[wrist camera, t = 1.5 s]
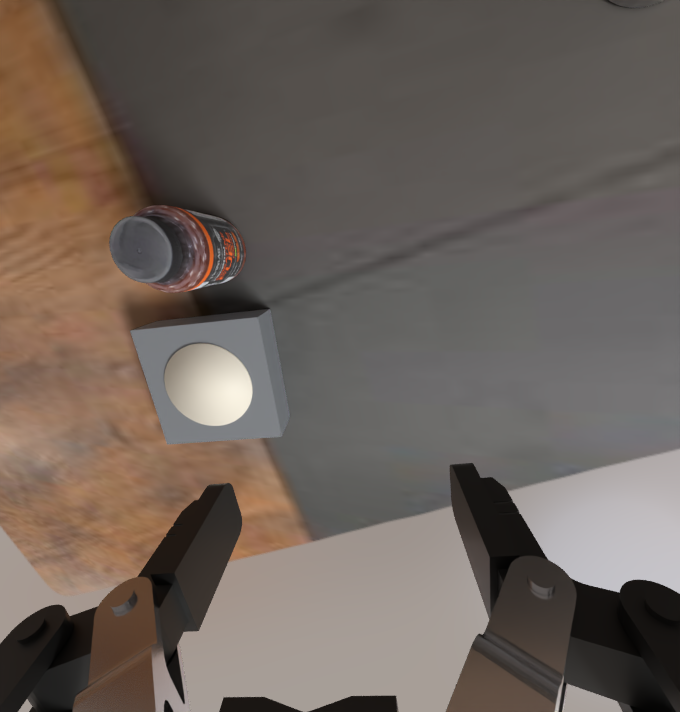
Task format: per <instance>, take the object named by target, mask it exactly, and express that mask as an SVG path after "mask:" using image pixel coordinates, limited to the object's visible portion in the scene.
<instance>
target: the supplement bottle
mask: <svg viewBox="0 0 680 712" xmlns="http://www.w3.org/2000/svg"><path fill="white" fill-rule="evenodd" d="M109 243H110V251H111V255H112V258H113V260H114V262H115V264H116V265H117V266H118V268H119V269H120V270H121V271H122V272H123V273H124V274H125V275H126V276H128V277H129V278H131V279H133V280H135V281H138V282H142V283H146V284H148V285H149V286H151V287H153V288H155V289H157V290H160V291H164V292H169V293H178V292H185V291H189V290H194V289H198V288H203V287H207V286H211V285H216V284H220V283H224V282H227V281H229V280H231V279H233V278H234V277H236V276H237V275H238V274H239V273H240V271H241V270H242V268H243V266H244V263H245V259H246V249H245V244H244V241H243V238H242V236H241V235H240V233H239V232H238V230H237V229H236V228H235V227H234V226H233V225H232V224H231V223H229V222H228V221H226V220H224V219H222V218H219V217H216V216H212V215H208V214H203V213H199V212H195V211H190V210H186V209H182V208H178V207H173V206H168V205H153V206H149V207H146V208H144V209H142V210H140V211H138V212H137V213H135V215H134V216H130V217H126V218H124V219H122V220H120V221H119V222H118V223H117V224H116V225H115V226H114V228H113V230H112V232H111V236H110V241H109Z"/></svg>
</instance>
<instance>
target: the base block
mask: <svg viewBox="0 0 680 712" xmlns="http://www.w3.org/2000/svg"><path fill="white" fill-rule="evenodd" d="M130 332H131V335H132V338H133V341H134V344H135V347H136V350H137V353H138V356H139V360H140V363H141V366H142V369H143V372H144V375H145V378H146V381H147V384H148V387H149V390H150V393H151V396H152V399H153V402H154V405H155V408H156V411H157V414H158V417H159V420H160V424H161V427H162V430H163V433H164V436H165V439H166V442H167V444H180V443H195V442H210V441H225V440H239V439H254V438H269V437H282V435H283V432H284V430H285V428H286V425H287V423H288V421H289V418H290V412H289V407H288V402H287V396H286V391H285V386H284V380H283V375H282V369H281V364H280V359H279V353H278V348H277V343H276V337H275V332H274V326H273V321H272V316H271V310H270V309H263V310H254V311H245V312H236V313H226V314H217V315H208V316H199V317H189V318H180V319H171V320H162V321H155V322H153V323H150V324H147V325H144V326H141V327H139V328H136V329H133V330H130Z"/></svg>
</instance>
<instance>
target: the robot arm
mask: <svg viewBox="0 0 680 712" xmlns="http://www.w3.org/2000/svg"><path fill="white" fill-rule="evenodd" d="M609 1H611V2H613V3H614V4H616V5H619V6H624V7H628V8H640V7H648V6H651V5H654V4H657V3H661V2H662V1H664V0H609ZM450 483H451V500H452V507H453V512H454V517H455V520H456V523H457V526H458V529H459V532H460V535H461V538H462V541H463V543H464V546H465V549H466V552H467V555H468V558H469V561H470V564H471V567H472V570H473V573H474V576H475V579H476V581H477V584H478V587H479V590H480V593H481V596H482V599H483V602H484V605H485V608H486V611H487V614H488V617H489V622H488V625H487V628H486V630H485V632H484V634H483V635H481V634H478V635H477V636H476V638H475V640H474V642H473V644H472V646H471V649H470V651H469V654H468V656H467V659H466V661H465V664H464V667H463V669H462V672H461V674H460V677H459V679H458V682H457V684H456V687H455V689H454V692H453V694H452V697H451V700H450V702H449V705H448V707H447V710H446V712H563V710H564V703H565V697H566V691H567V685H568V684H570V685H573V686H576V687H579V688H582V689H585V690H587V691H590V692H593V693H596V694H599V695H601V696H604V697H607V698H610V699H613V700H616V701H618V703H619V705H620V707H621V709H622V711H623V712H680V594H679V593H677V592H675V591H673V590H672V589H670V588H668V587H665V586H663V585H661V584H658V583H655V582H651V581H646V580H632V581H628V582H626V583H625V584H624V585H623V586H622V588H621V590H620V593H619V592H614V591H610V590H606V589H602V588H598V587H593V586H589V585H586V584H582V583H580V582H577V581H575V580H573V579H571V578H570V577H569V576H568V575H567V574H566V573H565V571H563V569H561V568H560V567H559V566H557V565H556V564H554V563H553V562H551V561H549V560H548V559H547V557H546V556H545V554H544V553H543V551H542V549H541V548H540V546H539V544H538V542H537V541H536V539H535V537H534V536H533V534H532V532H531V531H530V529H529V527H528V526H527V524H526V522H525V521H524V519H523V518H522V516H521V514H519V511H518V509H517V507H516V505H515V504H514V503H513V501H512V499H511V497H510V495H509V494H508V492H507V490H506V489H505V487H503V486H502V485H501V484H500V483H498V482H497V481H496V480H495V479H493V478H492V477H489V478H480V476H479V474H478V472H477V470H476V468H475V466H474V464H473V463H466V464H454V465H450ZM241 528H242V516H241V512H240V509H239V506H238V503H237V499H236V496H235V493H234V490H233V487H232V485H231V484H230V483H225V484H213V485H209V486H207V488H206V489H205V490H204V492H203V494H202V495H201V497H200V498H199V500H195V501H193V502H192V503H191V504H190V505H189V506H188V507H187V508H186V509H184V510H183V511H182V512H181V514H180V515H179V517H178V518H177V520H176V521H175V523H174V526H173V527H171V529H170V530H169V531H168V533H167V534H166V537H164V539H163V540H162V542H161V543H160V545H159V546H158V548H157V549H156V551H155V552H154V553H153V555H152V556H151V558H150V559H149V561H148V562H147V564H146V565H145V567H144V568H143V570H142V571H141V573H140V574H139V575H138V577H136V578H132V579H129V580H127V581H125V582H123V583H122V584H120V585H118V586H117V587H116V588H114V589H113V590H112V591H111V592H110V593H109V594H108V595H107V596H106V597H105V598H104V599H103V600H102V602H101V603H100V604H99V606H98V607H95V608H92V609H89V610H86V611H84V612H81V613H78V614H75V615H72V616H69V615H68V613H67V611H66V609H65V608H64V607H63V606H62V605H51V606H48V607H45V608H43V609H41V610H39V611H37V612H35V613H34V614H32V615H30V616H29V617H27V618H26V619H25V620H24V621H22V622H21V623H20V624H19V625H17V626H16V627H15V628H14V629H13V630H12V631H11V632H10V634H8V636H7V637H6V638H5V639H4V640H3V641H2V643H1V644H0V712H18V711H19V709H20V708H21V706H22V705H23V704H24V702H25V701H26V699H28V700H29V702H30V703H31V705H32V706H33V707H32V708H31V710H30V711H29V712H191V710H190V704H189V698H188V691H187V685H186V679H185V672H184V666H183V660H182V654H181V648H180V645H179V640H180V638H181V636H182V634H183V632H186V631H199V629H200V627H201V624H202V622H203V620H204V617H205V615H206V612H207V610H208V608H209V605H210V603H211V601H212V598H213V596H214V594H215V591H216V589H217V587H218V584H219V582H220V580H221V577H222V575H223V573H224V570H225V568H226V566H227V563H228V561H229V559H230V556H231V554H232V552H233V549H234V547H235V544H236V542H237V540H238V537H239V535H240V532H241ZM219 712H302V711H299V710H296V709H294V708H291V707H289V706H286V705H283V704H281V703H278V702H276V701H273V700H270V699H268V698H265V697H226V698H223V701H222V705H221V708H220V711H219ZM309 712H398V706H397V699H396V696H351V697H348V698H345V699H342V700H340V701H337V702H334V703H332V704H329V705H326V706H323V707H320V708H318V709H315V710H312V711H309Z"/></svg>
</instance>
